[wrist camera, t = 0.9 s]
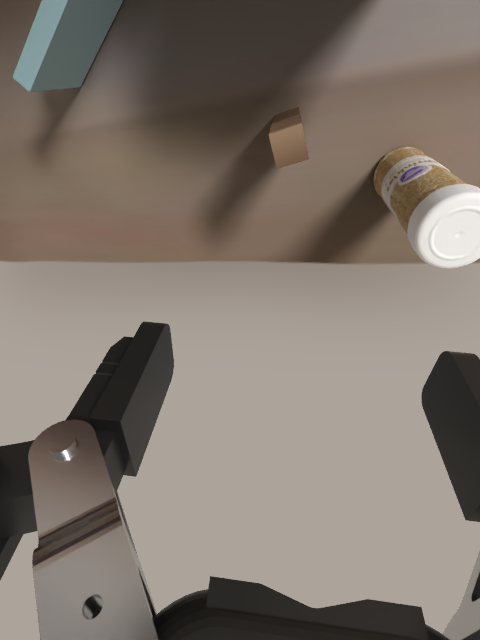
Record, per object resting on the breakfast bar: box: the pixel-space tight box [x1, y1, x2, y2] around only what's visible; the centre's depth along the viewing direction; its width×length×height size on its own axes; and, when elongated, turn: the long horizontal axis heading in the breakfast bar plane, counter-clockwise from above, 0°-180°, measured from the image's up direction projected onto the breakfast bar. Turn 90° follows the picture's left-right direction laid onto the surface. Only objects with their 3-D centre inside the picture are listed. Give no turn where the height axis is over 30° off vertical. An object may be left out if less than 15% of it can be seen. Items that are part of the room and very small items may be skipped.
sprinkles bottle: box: [373, 147, 480, 268], centre depth 25 cm, size 5×5×13 cm
